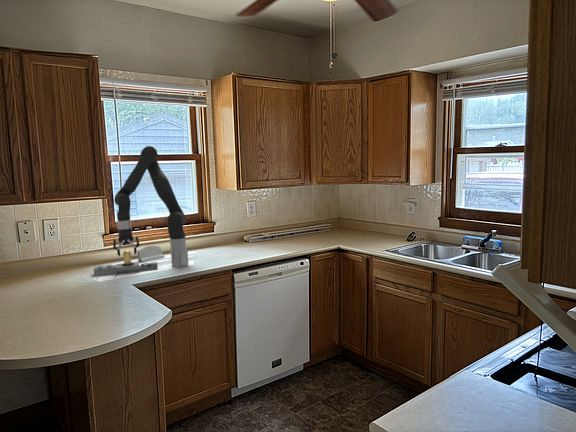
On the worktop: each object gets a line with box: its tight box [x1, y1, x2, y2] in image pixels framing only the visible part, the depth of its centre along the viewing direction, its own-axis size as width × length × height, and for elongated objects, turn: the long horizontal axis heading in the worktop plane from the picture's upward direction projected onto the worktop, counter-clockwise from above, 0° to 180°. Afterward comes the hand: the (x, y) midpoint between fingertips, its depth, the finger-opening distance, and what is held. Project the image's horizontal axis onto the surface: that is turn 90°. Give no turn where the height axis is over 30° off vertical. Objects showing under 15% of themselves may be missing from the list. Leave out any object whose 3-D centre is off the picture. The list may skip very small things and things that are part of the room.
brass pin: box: [123, 250, 132, 266], centre depth 258 cm, size 4×4×12 cm
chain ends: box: [93, 261, 158, 277], centre depth 258 cm, size 35×11×5 cm, turn 110°
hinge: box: [137, 245, 165, 263], centre depth 288 cm, size 17×5×10 cm, turn 135°
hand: (127, 255), depth 257 cm, fingers open, 8 cm apart
